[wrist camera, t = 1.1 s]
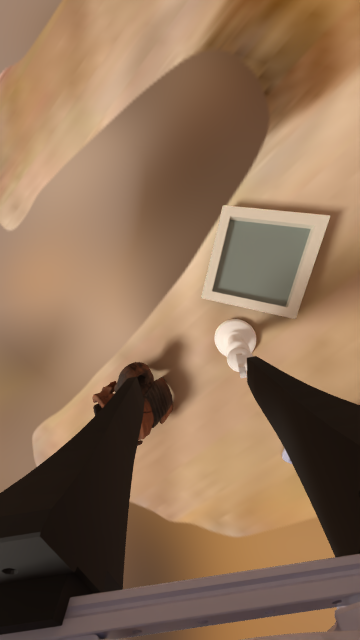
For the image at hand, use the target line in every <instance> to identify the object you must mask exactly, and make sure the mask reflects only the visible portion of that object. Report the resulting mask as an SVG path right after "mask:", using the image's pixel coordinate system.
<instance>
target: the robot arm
mask: <svg viewBox="0 0 360 640" xmlns="http://www.w3.org/2000/svg"><path fill="white" fill-rule="evenodd" d="M247 382H248V385H249V387H250V390H251V392H252V394H253V396H254V398H255V400H256V401H257V403H258V405H259V406H260V408H261V409H262V411H263V413H264V414H265V416H266V417H267V419H268V421H269V422H270V424H271V425H272V427H273V429H274V430H275V432H276V433H277V435H278V437H279V439H280V440H281V442H282V444H283V446H284V450H283V453H282V458H283V460H284V461H286V462H288V463H291V464H293V466H294V468H295V470H296V472H297V474H298V476H299V478H300V480H301V482H302V484H303V486H304V489H305V491H306V493H307V495H308V497H309V499H310V501H311V503H312V506H313V508H314V510H315V512H316V514H317V516H318V519H319V521H320V523H321V525H322V528H323V530H324V532H325V534H326V537H327V539H328V541H329V543H330V545H331V548H332V550H333V552H334V555H335V558H328V559H322V560H315V561H309V562H302V563H295V564H289V565H282V566H275V567H269V568H262V569H256V570H249V571H242V572H236V573H229V574H222V575H216V576H209V577H202V578H196V579H189V580H183V581H177V582H169V583H163V584H156V585H149V586H143V587H137V588H129V589H123V573H124V557H125V544H126V543H125V542H126V531H127V520H128V509H129V499H130V490H131V481H132V473H133V465H134V459H135V453H136V449H137V444H138V439H139V434H140V430H141V425H142V420H143V412H144V397H143V394H142V391H141V388H140V385H139V382H138V379H137V377H131V378H127V379H126V381H125V382H124V383H123V384H122V385H121V387H120V388H119V389H118V390H117V392H116V393H115V394H114V395H113V396H112V398H111V399H110V400H109V401H108V402H107V404H106V405H105V406H104V407H103V408H102V409H101V410H100V411H99V412H98V413H97V415H96V416H95V417H94V418H93V419H92V420H91V421H90V422H89V423H88V424H87V425H86V426H85V427H84V428H83V429H82V430H81V431H80V432H79V433H77V434H76V435H75V436H74V437H73V438H72V439H71V440H70V441H68V442H67V443H66V444H65V445H64V446H63V447H61V448H60V449H59V450H58V451H57V452H56V453H54V454H53V455H52V456H51V457H49V458H48V459H47V460H46V461H44V462H43V463H42V464H40V465H39V466H38V467H36V468H35V469H34V470H32V471H31V472H30V473H28V474H27V475H26V476H25V477H23V478H22V479H20V480H19V481H17V482H16V483H14V484H13V485H11V486H10V487H9V488H7V489H6V490H4V491H3V492H1V493H0V640H118V639H121V638H127V637H135V636H142V635H149V634H155V633H161V632H169V631H176V630H183V629H190V628H196V627H203V626H209V625H217V624H223V623H230V622H237V621H244V620H251V619H258V618H265V617H271V616H278V615H285V614H292V613H299V612H306V611H313V610H320V609H326V608H332V607H337V610H336V611H335V618H336V623H335V625H334V626H332V627H331V628H330V629H329V630H328V631H327V632H312V633H297V634H284V635H274V636H266V637H256V638H249V639H242V640H360V405H357V404H354V403H352V402H349V401H346V400H343V399H341V398H338V397H335V396H333V395H330V394H328V393H326V392H323V391H321V390H319V389H316V388H314V387H312V386H310V385H308V384H306V383H304V382H302V381H300V380H298V379H296V378H294V377H292V376H290V375H288V374H286V373H284V372H283V371H281V370H279V369H277V368H276V367H274V366H272V365H270V364H269V363H267V362H265V361H264V360H262V359H260V358H258V357H257V356H254V357H249V358H247Z"/></svg>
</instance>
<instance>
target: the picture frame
mask: <svg viewBox="0 0 360 640" xmlns="http://www.w3.org/2000/svg"><path fill="white" fill-rule="evenodd" d="M329 219H330V215H320V214H309V213H299V212H289V211H278V210H268V209H257V208H247V207H237V206H226V205H223V208H222V212H221V216H220V220H219V224H218V229H217V233H216V237H215V241H214V246H213V250H212V254H211V258H210V263H209V267H208V271H207V275H206V279H205V284H204V288H203V292H202V296H201V298H203V299H208V300H212V301H216V302H221V303H225V304H230V305H234V306H239V307H243V308H248V309H252V310H257V311H261V312H266V313H270V314H274V315H279V316H283V317H288V318H292V319H296V316H297V314H298V311H299V308H300V305H301V302H302V299H303V296H304V293H305V290H306V287H307V284H308V281H309V278H310V275H311V272H312V269H313V266H314V263H315V260H316V257H317V254H318V251H319V248H320V246H321V243H322V240H323V237H324V234H325V231H326V228H327V225H328V222H329Z"/></svg>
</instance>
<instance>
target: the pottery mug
mask: <svg viewBox="0 0 360 640" xmlns="http://www.w3.org/2000/svg"><path fill="white" fill-rule="evenodd" d="M131 377H137V379H138V382H139V385H140V388H141V391H142V394H143V397H144V412H143V420H142V425H141V430H140V434H139V439H138V440H140V439H144V438H145V437H146V436H148V435H149V434H150V431H151V428H154V427H155V426H156V425H157V424H158V422H159V421H160V423H161V424H162V423H164V422H165V420H166V419H167V417H168V415H169V414H170V413H171V411H172V408H173V400H172V394H171V392H170V389H169V387H168V385H167V384H166V382H165V380H164V379H163V378H162V377H161V378H159V379H158V380H155V381H154V377H153V374H152V373H151V371H150V369H149V367H148V366H147V365H145V364H144V363H140V362H134V363H132V364H129V365H128V366H126V367H125V368H124V369H123V370H122V371H121V373H120V375H119V379H118V382H117V383H116V381H114V382H111V383H110V384H109V385H108V386H106V387H103V388H102V391H101V392H100V393H98V394H94V395H93V402H94V403H95V402H98V404H96V405H95V406H94V407H93V409H94V413H95V416H96V415H97V413H98V412H99V411H100V410H101V409H102V408H103V407H104V406H105V405H106V404H107V402H108V401H109V400H110V399H111V398H112V396H113V395H114V394H113V392H114V391H115V392H117V390H118V389H119V388H120V387H121V385H122V384H123V383H124V382H125V381H126V379H127V378H131ZM142 442H143V441H141V440H140V441H138V444H137V445H140V444H142Z"/></svg>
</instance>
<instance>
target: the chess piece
mask: <svg viewBox="0 0 360 640" xmlns="http://www.w3.org/2000/svg"><path fill="white" fill-rule="evenodd" d="M215 344H216V346H217V348H218V350H219V351H220V352H221V353H222V354H223V355H225V356H226V357H227V362H228V365H229V366H230V368H231V369H233V370H234V371H237V372H240V376H241V378H247V375H246V371H247V358H249V357H253V356H252V354H251V352H252V351H253V350H254V348H255V346H256V334H255V331H254V329H253V328H252V326H251V325H250V324H248V323H247V322H245V321H243V320H240V319H230V320H227V321H225V322H223V323H222V324H221V325H220V326H219V327H218V328H217V330H216V333H215Z"/></svg>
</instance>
